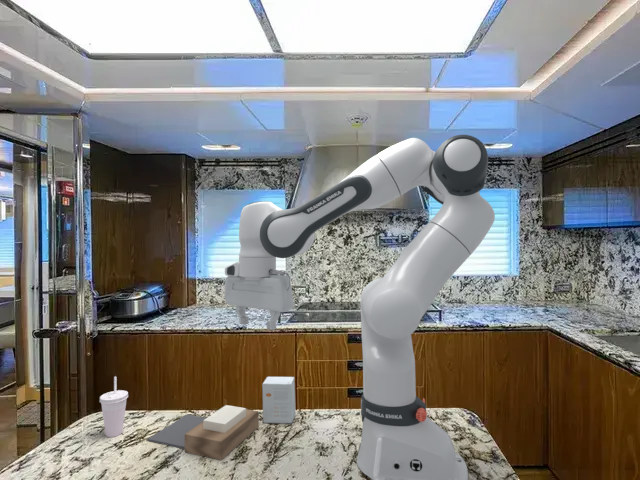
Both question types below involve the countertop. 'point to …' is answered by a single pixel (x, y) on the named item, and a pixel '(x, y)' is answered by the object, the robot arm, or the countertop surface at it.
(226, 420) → the tile
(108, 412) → the smoothie
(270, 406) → the small box
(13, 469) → the countertop surface
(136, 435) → the countertop surface
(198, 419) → the mat
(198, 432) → the brown wooden block
